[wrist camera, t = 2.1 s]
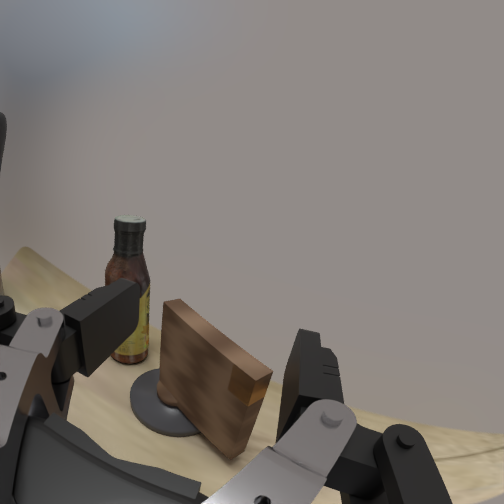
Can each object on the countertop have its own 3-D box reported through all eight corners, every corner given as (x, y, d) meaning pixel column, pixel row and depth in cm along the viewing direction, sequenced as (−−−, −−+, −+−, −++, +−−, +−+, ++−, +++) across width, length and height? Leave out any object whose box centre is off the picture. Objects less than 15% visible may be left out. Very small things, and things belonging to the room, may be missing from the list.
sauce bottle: (156, 359, 38) (167, 225, 32) (118, 370, 33) (118, 226, 28) (136, 335, 42) (144, 212, 36) (101, 343, 37) (101, 213, 32)
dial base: (115, 413, 26) (113, 406, 26) (152, 364, 37) (152, 357, 36) (204, 449, 25) (205, 442, 25) (226, 389, 36) (228, 381, 35)
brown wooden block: (150, 387, 30) (152, 302, 27) (179, 377, 33) (188, 296, 30) (221, 465, 22) (244, 386, 19) (252, 445, 25) (282, 365, 22)
